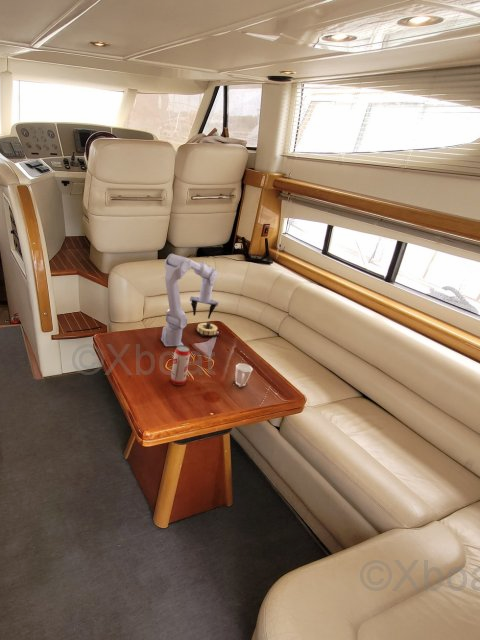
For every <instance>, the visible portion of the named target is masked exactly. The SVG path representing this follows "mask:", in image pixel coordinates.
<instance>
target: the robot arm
mask: <svg viewBox="0 0 480 640" xmlns="http://www.w3.org/2000/svg"><path fill="white" fill-rule="evenodd" d="M164 268H165V275H164V282H165V288H166V294H167V300H168V301H167V302H168V307H169V308H168V309H167V310H166V311H165V322H166V323H167V324H166V326H163V327H162V333H161V338H160V340H161V342H162V344H163V345H164V346H165V347H177V346H181V345H182V346H184V343H183V341H182V337H183V330H184V329H185V328H186V327H187V325H188V323H189V321H188V317H187V315H186V313H185V311H184V310H183V309H182V302H181V296H180V295H181V294H180V288H179V280H181V279H182V278H183V277H184V276H185V275H186V273H188V271H190V270H193V272H194V274H196V275H197V276H199V277H200V278H201V283H200V290H199V295H198V296H193V295H192V296H190V298H189V302H190V304H191V305H190V306H191V307H192V313H193V316H196V314H197V306H198V303H199V304H204V305H210V306H209V311H208V316H207V319H210V318H211V316H212V313H213V312H214V310H215V309H216V307H219V303H220V301H217V300H214V299H211V298H212V293H213V287H214V284H215V282H216V279H217V277H218V271H217V270H216V269H215V268H212V267H211V266H210V265H207V264H206V263H205V262H203V261H202V262H196V261H194V260H193V259H191V258H190V257H189V258H188V257H185V256H183V255H179V254H175V253H170V254H168V255H167V257H166V259H165V260H164Z"/></svg>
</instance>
